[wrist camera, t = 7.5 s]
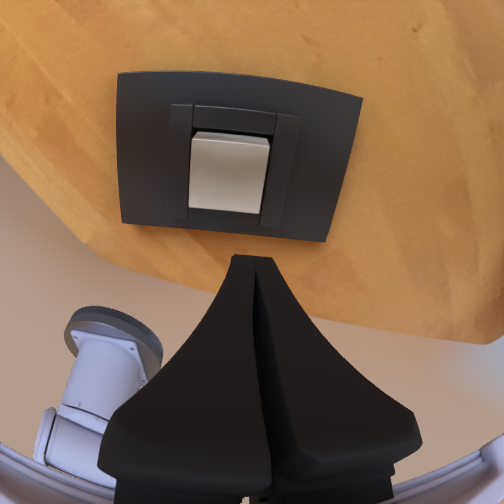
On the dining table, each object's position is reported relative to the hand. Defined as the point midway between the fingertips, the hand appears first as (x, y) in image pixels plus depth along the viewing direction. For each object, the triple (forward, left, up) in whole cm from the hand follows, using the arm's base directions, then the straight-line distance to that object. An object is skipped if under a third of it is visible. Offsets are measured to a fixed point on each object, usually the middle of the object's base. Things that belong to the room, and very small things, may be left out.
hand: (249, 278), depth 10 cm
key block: (+2, +1, -10) cm, 10 cm away
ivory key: (+1, +1, -7) cm, 7 cm away
